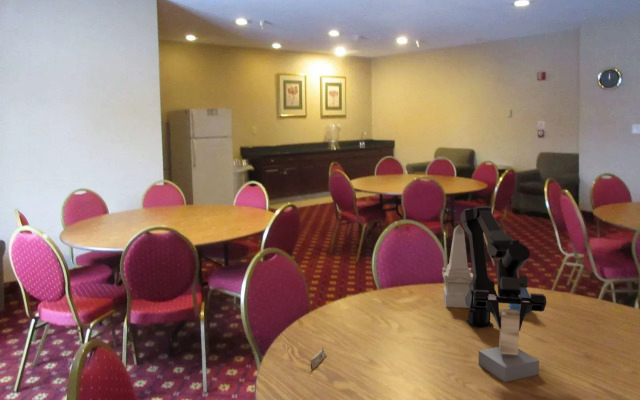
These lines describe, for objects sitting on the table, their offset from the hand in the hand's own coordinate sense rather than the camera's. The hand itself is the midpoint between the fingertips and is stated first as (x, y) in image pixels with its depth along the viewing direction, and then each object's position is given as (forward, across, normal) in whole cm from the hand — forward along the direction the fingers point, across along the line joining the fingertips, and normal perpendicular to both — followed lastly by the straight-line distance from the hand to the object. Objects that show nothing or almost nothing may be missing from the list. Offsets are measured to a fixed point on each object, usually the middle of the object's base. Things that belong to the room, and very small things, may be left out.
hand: (509, 329), depth 140 cm
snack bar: (+13, -52, +4) cm, 54 cm away
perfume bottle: (-26, +8, +43) cm, 51 cm away
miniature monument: (-28, -14, +46) cm, 56 cm away
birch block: (+4, 0, +6) cm, 7 cm away
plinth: (+8, 0, +9) cm, 12 cm away
